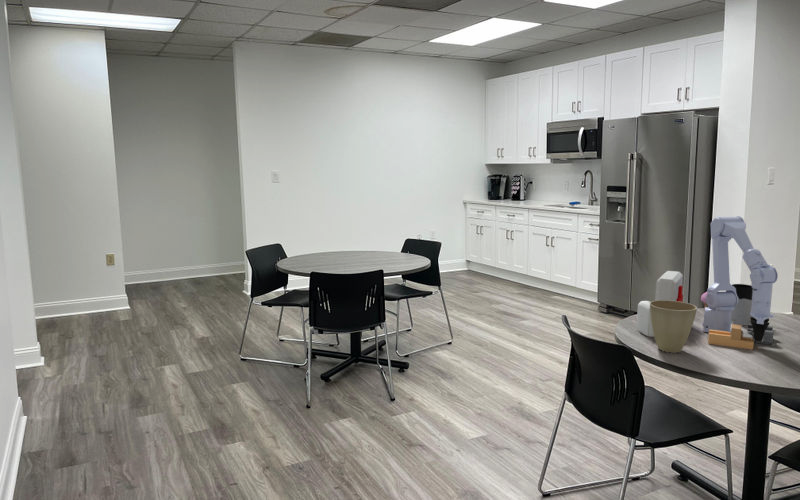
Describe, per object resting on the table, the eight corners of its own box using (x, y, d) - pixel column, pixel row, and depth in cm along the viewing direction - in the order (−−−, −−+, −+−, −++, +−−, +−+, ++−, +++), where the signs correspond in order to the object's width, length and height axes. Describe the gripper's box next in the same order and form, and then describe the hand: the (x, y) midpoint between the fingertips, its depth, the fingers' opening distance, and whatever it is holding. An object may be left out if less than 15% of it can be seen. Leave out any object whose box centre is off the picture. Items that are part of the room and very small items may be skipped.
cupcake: (698, 314, 255) (700, 291, 254) (701, 310, 262) (702, 288, 261) (722, 317, 251) (724, 294, 249) (724, 313, 258) (725, 290, 256)
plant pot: (676, 359, 199) (679, 312, 196) (637, 347, 211) (640, 303, 209) (703, 351, 207) (706, 306, 204) (664, 340, 219) (666, 298, 217)
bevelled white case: (675, 332, 230) (678, 280, 227) (653, 329, 234) (656, 278, 231) (683, 319, 248) (686, 271, 245) (662, 317, 252) (664, 270, 249)
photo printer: (634, 329, 234) (636, 298, 232) (645, 329, 234) (647, 298, 232) (647, 337, 223) (648, 305, 221) (658, 337, 224) (660, 304, 222)
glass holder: (723, 318, 248) (726, 283, 246) (760, 320, 247) (763, 284, 244) (732, 324, 240) (735, 287, 238) (770, 325, 238) (773, 288, 236)
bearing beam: (707, 343, 216) (709, 325, 215) (708, 339, 221) (710, 321, 220) (753, 349, 209) (754, 330, 208) (752, 344, 214) (754, 326, 213)
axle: (730, 338, 213) (730, 330, 213) (730, 336, 216) (731, 328, 215) (762, 342, 208) (763, 334, 208) (762, 340, 211) (763, 331, 210)
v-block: (746, 341, 218) (747, 329, 217) (746, 334, 226) (747, 323, 225) (772, 344, 214) (773, 332, 213) (771, 337, 222) (772, 326, 221)
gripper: (775, 307, 200) (772, 346, 202) (774, 298, 212) (770, 335, 214) (751, 304, 203) (747, 343, 206) (751, 296, 216) (748, 332, 218)
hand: (758, 339), depth 210 cm, fingers closed on axle, 3 cm apart
